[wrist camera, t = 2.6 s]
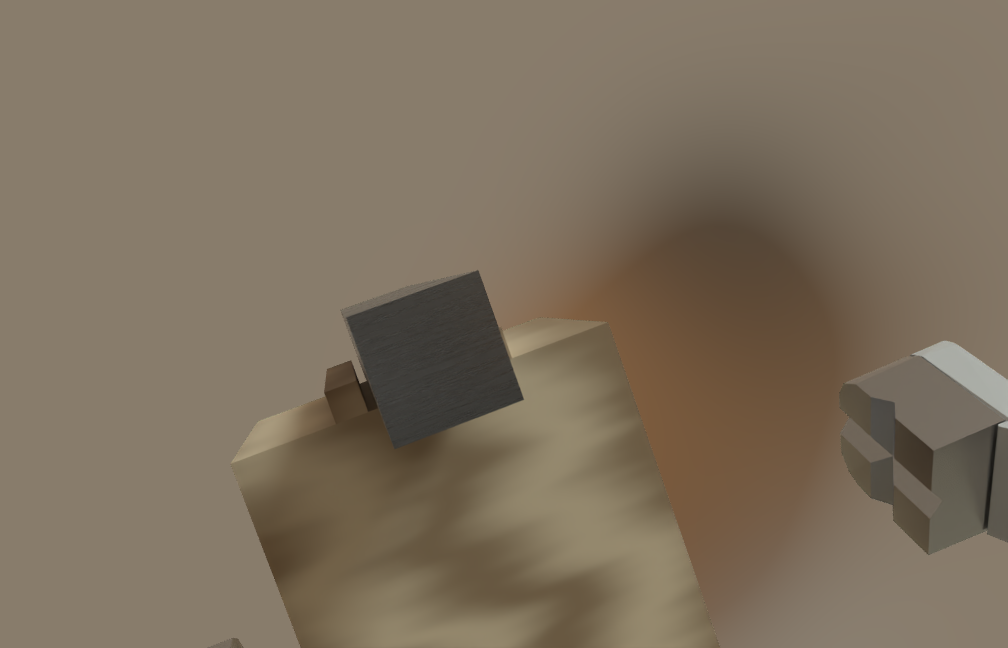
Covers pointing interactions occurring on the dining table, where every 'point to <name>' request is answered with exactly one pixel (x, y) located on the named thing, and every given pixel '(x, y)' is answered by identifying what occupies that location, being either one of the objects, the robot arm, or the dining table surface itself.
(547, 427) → the maple stand
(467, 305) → the steel block
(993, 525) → the robot arm
